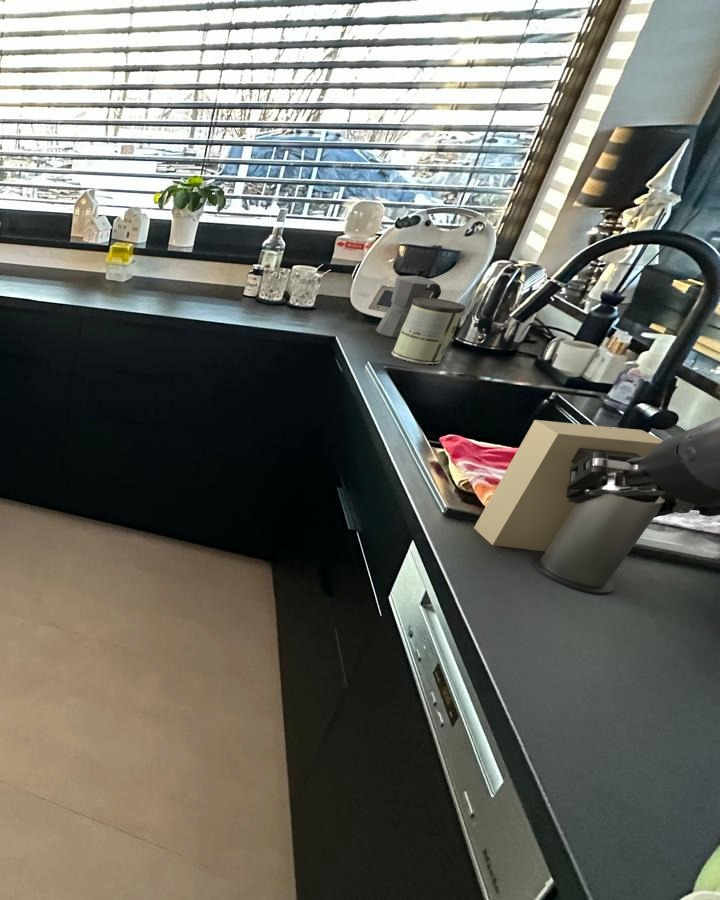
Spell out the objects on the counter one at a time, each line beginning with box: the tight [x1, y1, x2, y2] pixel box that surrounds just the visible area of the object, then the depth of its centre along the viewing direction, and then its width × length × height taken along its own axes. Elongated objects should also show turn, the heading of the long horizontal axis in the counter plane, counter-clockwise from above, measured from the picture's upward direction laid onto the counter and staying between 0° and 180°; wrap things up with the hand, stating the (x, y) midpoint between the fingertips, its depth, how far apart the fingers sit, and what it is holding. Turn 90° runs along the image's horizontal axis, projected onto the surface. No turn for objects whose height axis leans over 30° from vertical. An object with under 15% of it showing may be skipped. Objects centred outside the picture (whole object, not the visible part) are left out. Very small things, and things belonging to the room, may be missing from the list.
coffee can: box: [391, 297, 466, 366], centre depth 153 cm, size 10×10×14 cm
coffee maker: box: [473, 419, 664, 596], centre depth 76 cm, size 12×13×18 cm
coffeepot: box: [375, 268, 442, 339], centre depth 170 cm, size 15×9×18 cm, turn 1°
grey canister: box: [541, 478, 666, 588], centre depth 74 cm, size 6×6×13 cm
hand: (608, 502), depth 74 cm, fingers closed on grey canister, 6 cm apart
